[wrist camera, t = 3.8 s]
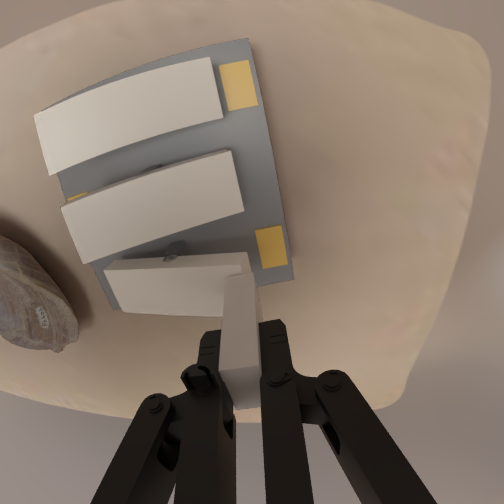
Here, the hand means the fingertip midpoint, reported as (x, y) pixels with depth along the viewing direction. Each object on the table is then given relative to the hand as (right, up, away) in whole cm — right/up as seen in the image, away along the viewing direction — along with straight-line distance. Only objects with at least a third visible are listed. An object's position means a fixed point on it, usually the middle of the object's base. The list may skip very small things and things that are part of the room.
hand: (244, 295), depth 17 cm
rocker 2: (-5, +5, 0) cm, 8 cm away
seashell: (-22, 0, +9) cm, 24 cm away
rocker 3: (-4, 0, +3) cm, 5 cm away
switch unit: (-6, +8, +5) cm, 11 cm away
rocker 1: (-7, +10, -2) cm, 12 cm away
